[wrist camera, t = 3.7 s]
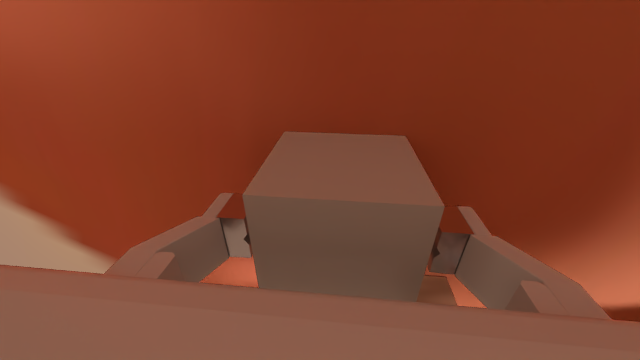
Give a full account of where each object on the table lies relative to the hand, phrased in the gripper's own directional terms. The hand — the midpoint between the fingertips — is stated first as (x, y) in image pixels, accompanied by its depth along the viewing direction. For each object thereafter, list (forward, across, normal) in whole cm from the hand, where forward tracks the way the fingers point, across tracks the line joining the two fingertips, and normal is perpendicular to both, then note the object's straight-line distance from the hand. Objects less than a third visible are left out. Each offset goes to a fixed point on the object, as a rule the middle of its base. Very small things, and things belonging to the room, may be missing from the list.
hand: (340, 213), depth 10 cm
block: (+2, 0, 0) cm, 2 cm away
